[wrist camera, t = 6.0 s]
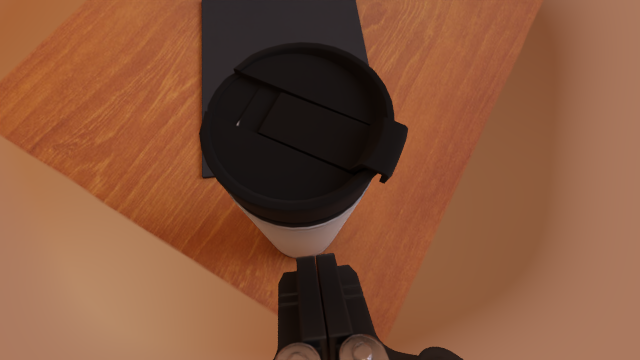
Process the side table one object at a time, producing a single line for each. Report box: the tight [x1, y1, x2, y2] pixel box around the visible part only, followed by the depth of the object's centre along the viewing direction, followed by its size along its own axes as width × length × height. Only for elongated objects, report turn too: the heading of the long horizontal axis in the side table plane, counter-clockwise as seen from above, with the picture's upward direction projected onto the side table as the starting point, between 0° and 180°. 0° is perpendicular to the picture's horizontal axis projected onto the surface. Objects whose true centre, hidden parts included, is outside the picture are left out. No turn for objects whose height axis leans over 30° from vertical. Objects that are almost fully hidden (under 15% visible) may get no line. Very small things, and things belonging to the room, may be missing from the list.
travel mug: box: [199, 42, 408, 258], centre depth 18 cm, size 6×7×20 cm
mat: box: [202, 0, 369, 178], centre depth 33 cm, size 22×18×1 cm
